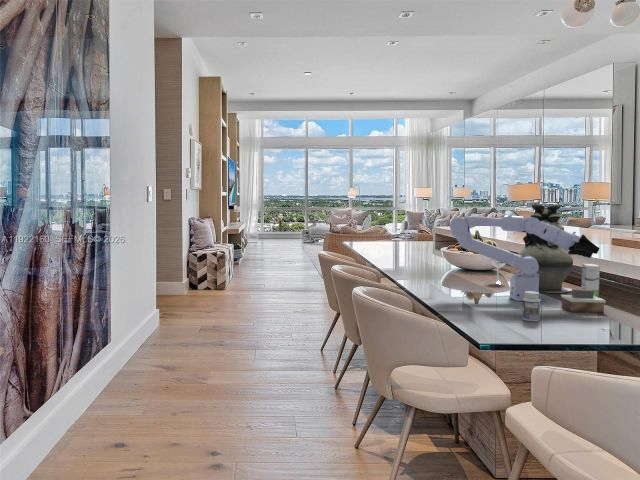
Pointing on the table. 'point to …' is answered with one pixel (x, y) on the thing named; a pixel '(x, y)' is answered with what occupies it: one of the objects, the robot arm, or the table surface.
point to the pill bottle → (531, 306)
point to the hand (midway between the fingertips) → (594, 253)
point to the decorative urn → (548, 253)
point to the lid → (583, 296)
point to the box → (583, 306)
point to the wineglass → (497, 265)
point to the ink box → (590, 278)
